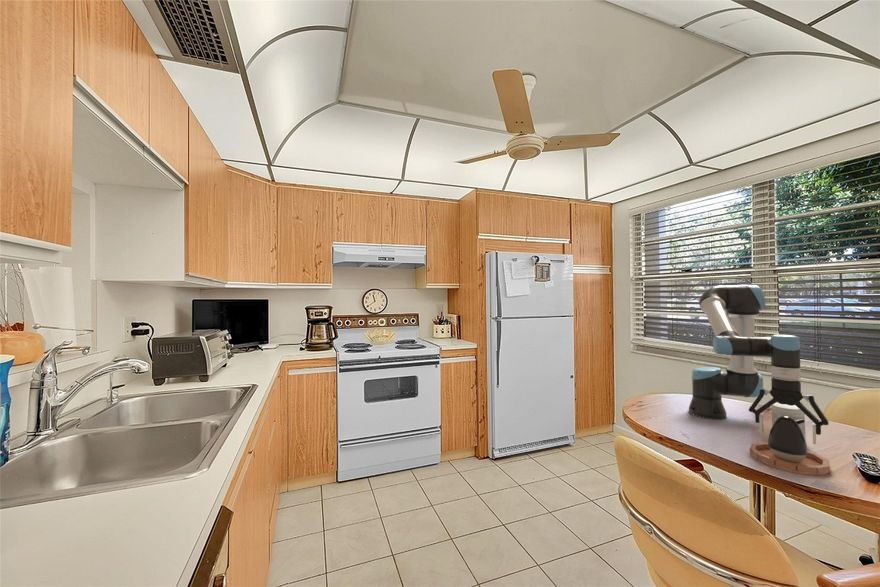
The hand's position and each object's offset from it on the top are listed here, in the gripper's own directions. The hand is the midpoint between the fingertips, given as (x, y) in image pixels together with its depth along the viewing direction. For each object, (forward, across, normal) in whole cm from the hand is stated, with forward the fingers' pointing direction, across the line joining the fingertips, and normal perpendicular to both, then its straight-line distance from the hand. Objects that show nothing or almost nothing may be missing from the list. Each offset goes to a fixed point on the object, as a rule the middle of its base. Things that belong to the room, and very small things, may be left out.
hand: (786, 437), depth 126 cm
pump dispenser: (+8, 0, 0) cm, 8 cm away
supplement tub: (+9, -1, +23) cm, 24 cm away
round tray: (+8, 0, 0) cm, 8 cm away
